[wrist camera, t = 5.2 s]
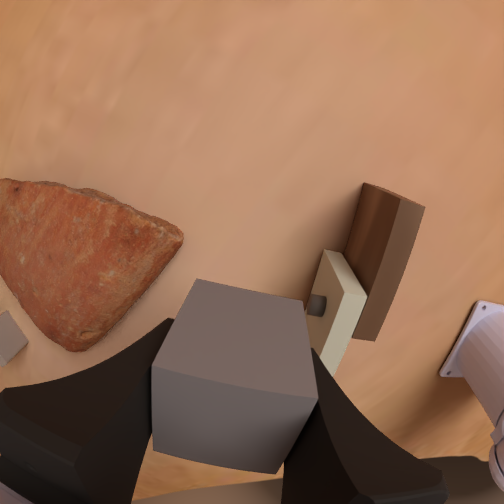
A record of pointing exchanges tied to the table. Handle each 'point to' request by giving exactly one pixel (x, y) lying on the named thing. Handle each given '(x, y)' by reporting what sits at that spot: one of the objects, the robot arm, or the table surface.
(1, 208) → the ceramic shard
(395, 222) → the door frame
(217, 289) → the grey block
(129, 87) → the table surface
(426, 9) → the table surface
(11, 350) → the lighter
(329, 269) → the cream bar
